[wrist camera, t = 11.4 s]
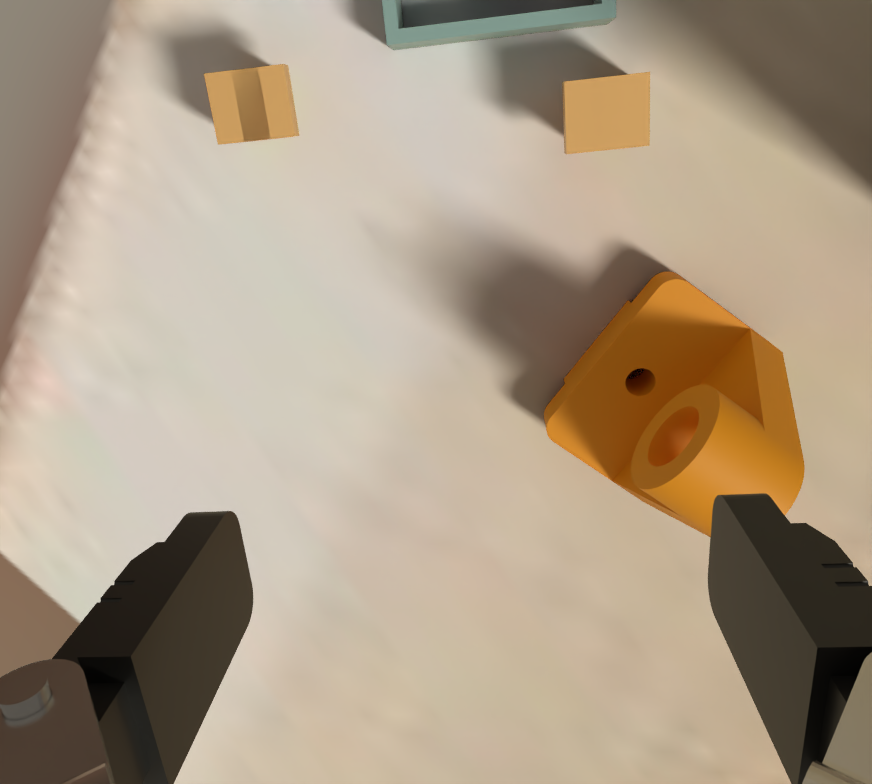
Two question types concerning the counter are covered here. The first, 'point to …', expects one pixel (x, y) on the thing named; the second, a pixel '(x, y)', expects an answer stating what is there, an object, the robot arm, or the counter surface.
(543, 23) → the tray
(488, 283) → the counter surface
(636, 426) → the bracket
